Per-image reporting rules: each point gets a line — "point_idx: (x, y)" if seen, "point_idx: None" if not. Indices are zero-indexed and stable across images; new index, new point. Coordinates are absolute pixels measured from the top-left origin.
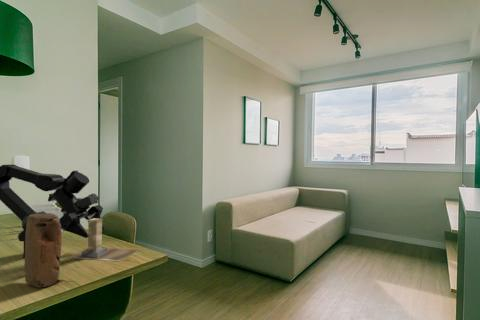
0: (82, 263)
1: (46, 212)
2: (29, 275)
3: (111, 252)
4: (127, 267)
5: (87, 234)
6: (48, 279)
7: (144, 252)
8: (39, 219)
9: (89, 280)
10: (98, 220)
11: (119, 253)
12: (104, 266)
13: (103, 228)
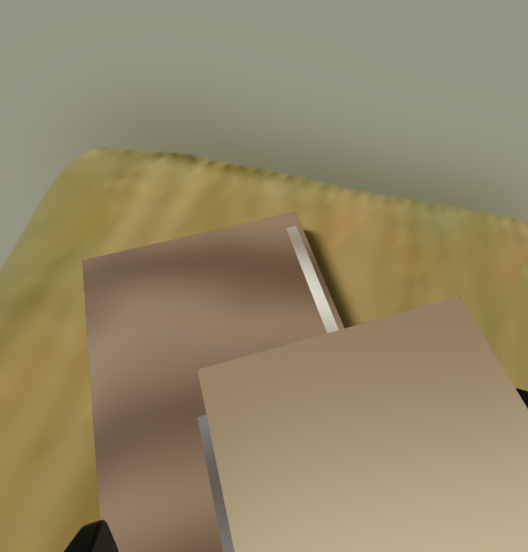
0: None
1: None
2: None
3: (191, 391)
4: (292, 192)
5: (526, 395)
6: None
7: (57, 257)
8: None
9: (492, 229)
10: (380, 322)
11: (188, 318)
12: (346, 297)
13: (97, 533)
